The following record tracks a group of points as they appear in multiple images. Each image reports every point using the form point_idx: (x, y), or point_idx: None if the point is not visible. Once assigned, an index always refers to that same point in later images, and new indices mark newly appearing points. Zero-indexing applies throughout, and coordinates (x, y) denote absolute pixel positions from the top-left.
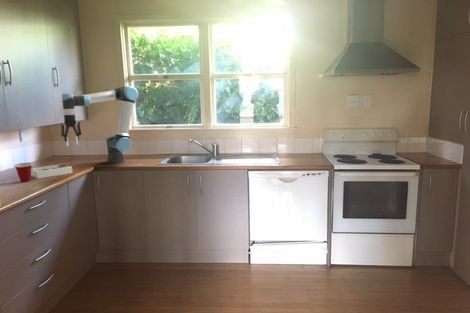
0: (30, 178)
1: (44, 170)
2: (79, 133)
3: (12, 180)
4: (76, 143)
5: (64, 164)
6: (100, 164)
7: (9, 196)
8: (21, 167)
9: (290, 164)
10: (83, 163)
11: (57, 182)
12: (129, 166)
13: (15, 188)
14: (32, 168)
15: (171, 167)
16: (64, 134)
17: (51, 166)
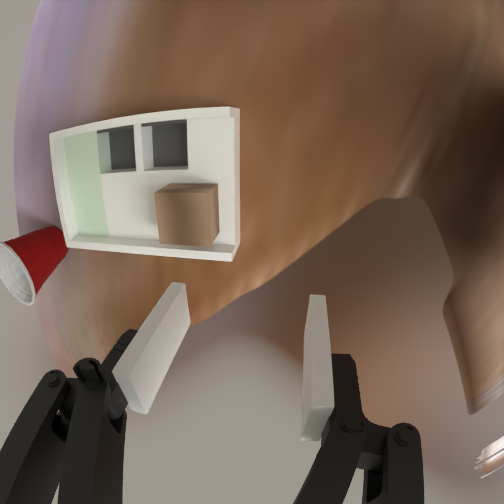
0: (63, 255)
1: (92, 249)
2: (364, 478)
3: (27, 187)
4: (308, 319)
5: (187, 244)
6: (473, 142)
7: (59, 363)
8: (17, 294)
9: (496, 460)
10: (421, 5)
11: None
12: (477, 325)
13: (51, 313)
14: (56, 136)
15: (474, 412)
16: (76, 411)
17: (142, 122)
